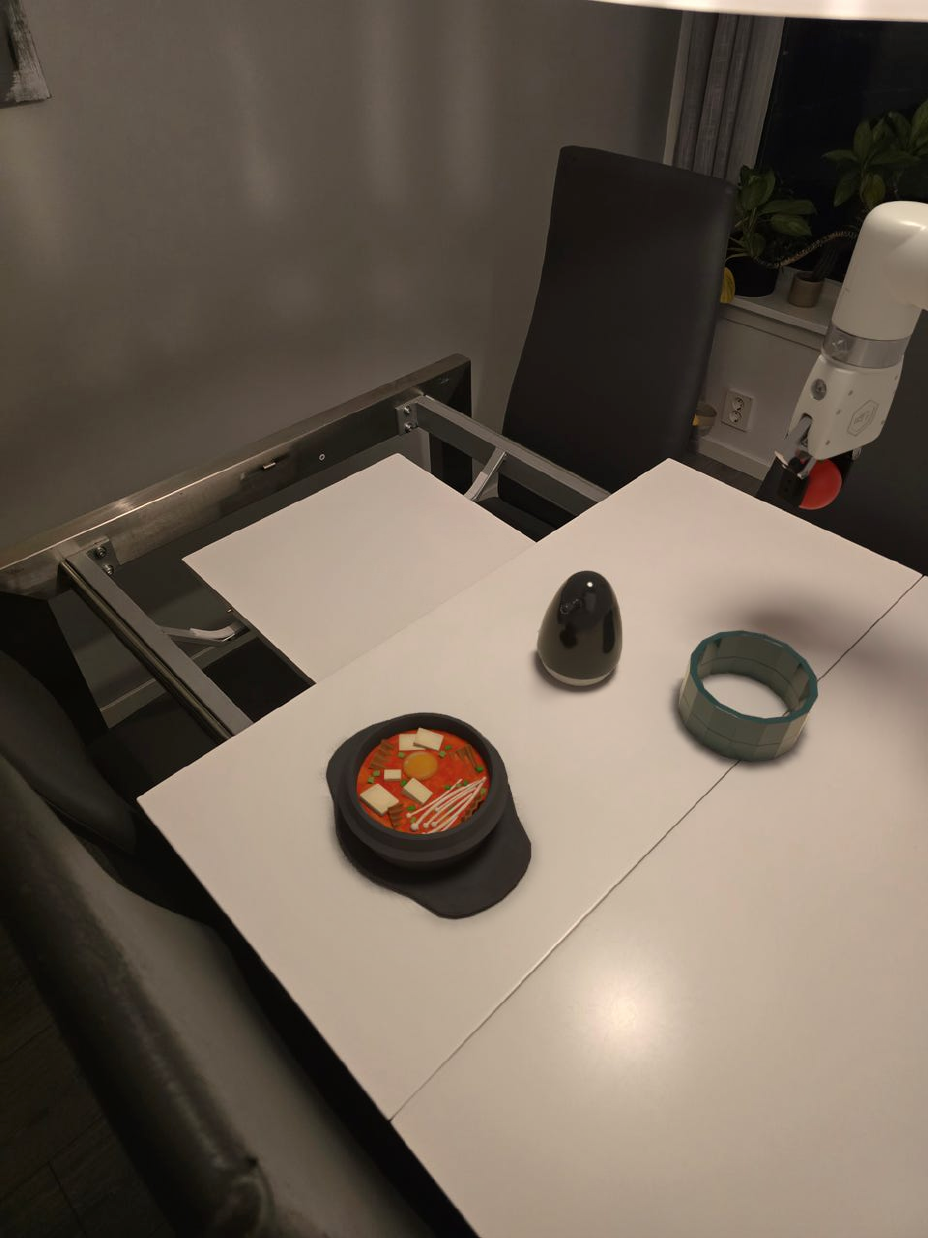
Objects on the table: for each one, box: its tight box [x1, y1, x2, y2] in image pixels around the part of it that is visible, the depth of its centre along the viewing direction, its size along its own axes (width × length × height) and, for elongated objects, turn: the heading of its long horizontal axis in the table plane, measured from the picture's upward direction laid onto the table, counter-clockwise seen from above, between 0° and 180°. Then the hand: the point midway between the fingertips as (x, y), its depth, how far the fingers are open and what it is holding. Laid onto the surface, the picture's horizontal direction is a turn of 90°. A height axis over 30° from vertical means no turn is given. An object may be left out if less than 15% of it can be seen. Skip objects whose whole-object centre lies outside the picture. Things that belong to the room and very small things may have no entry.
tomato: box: [798, 456, 841, 510], centre depth 89 cm, size 6×6×7 cm
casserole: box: [325, 711, 532, 917], centre depth 80 cm, size 25×19×8 cm
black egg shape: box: [536, 569, 624, 687], centre depth 92 cm, size 10×10×15 cm
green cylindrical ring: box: [677, 629, 819, 762], centre depth 89 cm, size 14×14×8 cm
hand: (809, 490), depth 90 cm, fingers closed on tomato, 6 cm apart
